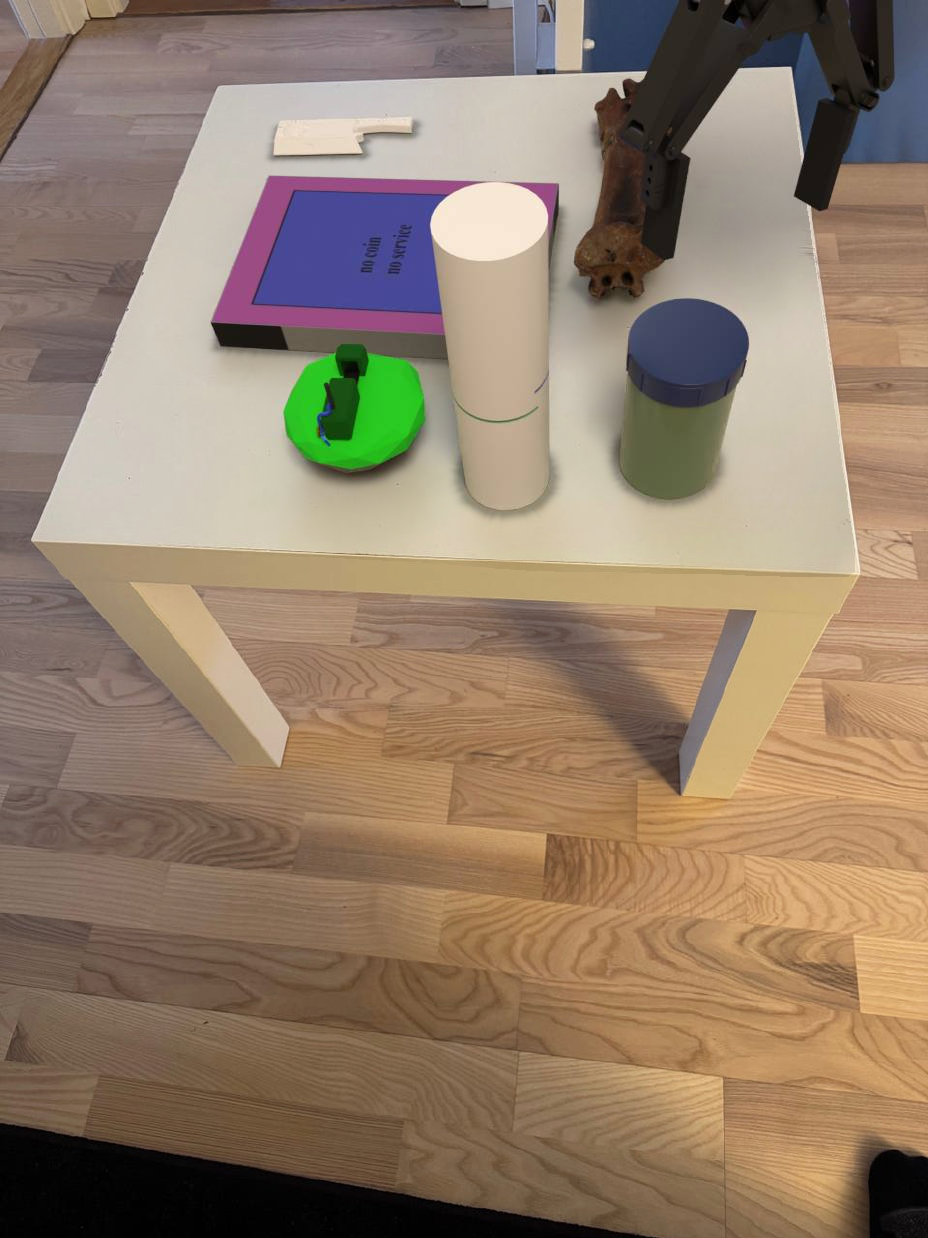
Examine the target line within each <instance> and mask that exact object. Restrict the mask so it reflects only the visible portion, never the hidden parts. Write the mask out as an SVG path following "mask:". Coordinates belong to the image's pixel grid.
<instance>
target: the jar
mask: <svg viewBox="0 0 928 1238" xmlns="http://www.w3.org/2000/svg"><path fill="white" fill-rule="evenodd" d="M737 386H738V385H737ZM737 386H736V387H735V388H734V389H733V390H732V391H731V392H730V393H729V394H728V395H727V396H725V397H723V398H722V399H720V400H718V401H715V402H713V403H710V404H707V405H703V406H698V407H676V406H670V405H666V404H662V403H659V402H657V401H655V400H652V399H651V398H649V397H647V396H646V395H644V394H643V393H642V392H640V391H639V390H638V389H637V388H636V387H635V385H634V384H633V383H632V381H631V379H630V377H629V375H628V373H627V376H626V384H625V395H624V397H625V398H624V406H623V415H622V426H621V436H620V447H619V456H618V457H619V458H618V462H619V468H620V471H621V473H622V475H623V477H624V478H625V480H626V481H627V483H629V485H631V487H633V488H634V489H635V490H637V491H639V492H640V493H642V494H644V495H646V496H650V497H652V498H657V499H663V500H677V499H683V498H688V497H690V496H692V495H695V494H697V493H699V492H700V491H702V490H703V489H704V488H705V487H707V486H708V485H709V483H711V481H712V479H713V478H714V476H715V474H716V471H717V466H718V464H719V459H720V454H721V450H722V448H723V443H724V439H725V434H726V430H727V427H728V422H729V418H730V415H731V411H732V406H733V402H734V398H735V394H736V391H737Z"/></svg>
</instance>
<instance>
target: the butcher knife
mask: <svg viewBox="0 0 928 1238" xmlns="http://www.w3.org/2000/svg"><path fill="white" fill-rule="evenodd" d="M413 126H414V121H413V116H399V117H397V116H396V117H363V118H362V117H361V118H360V117H358V118H322V119H318V118H311V119H310V118H309V119H293V120H288V119H287V120H279V122H278V126H276V128H277V129H276V132H275V135H274V138H273V139H274V141H273V156H307V155H309V156H310V155H311V156H314V155H352V154H358V155H359V154H363V150H362V148H361V145H360V144H359V143H362V142H364V141H365V138H364V134H372V133H401V134H402V133H405V134H412V131H413Z"/></svg>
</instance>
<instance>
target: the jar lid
mask: <svg viewBox="0 0 928 1238" xmlns="http://www.w3.org/2000/svg"><path fill="white" fill-rule="evenodd" d="M749 337H750V336H749V333H748V330H747V329H746V326H745V325H744V323H743V322H742V320H741V319H740V318H739V316H737V315H736V314H735V313H734V312H732V311H731V310H730V309H728V308H726V307H725V306H723V305H721V304H718V303H716V302H714V301H713V302H712V301H711V300H706V299H700V298H694V297H693V298H692V297H686V298H685V297H684V298H683V297H681V298H674V299H668V300H665V301H661V302H658V303H657V304H654V305H652V306H651V307H648V308H647V309H645V310H644V311H643V312H641V314H640V315H639V316H637V318H635V320H634V322H633V323H632V325H631V327H630V329H629V332H628V337H627V347H626V356H625V357H626V358H625V371H626V373H627V374H628V375H629V377H630V379H631V381H632V383H633V384H634V385H635V387H636V388H637V389H638V390H639V391H640V392H642V393H643V394H644V395H646V396H647V397H649V398H651V399H652V400H655V401H657V402H659V403H662V404H666V405H670V406H676V407H698V406H703V405H707V404H710V403H713V402H715V401H718V400H720V399H722V398H723V397H725V396H727V395H728V394H729V393H730V392H731V391H732V390H733V389H734V388H735V387H736V386H738V384H739V383H740V381H741V379H742V378H743V377H744V373H745V369H746V366H747V365H746V364H747V361H748V360H747V357H748V354H749V349H750V339H749ZM736 388H737V387H736Z"/></svg>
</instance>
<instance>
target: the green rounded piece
mask: <svg viewBox="0 0 928 1238" xmlns="http://www.w3.org/2000/svg"><path fill="white" fill-rule="evenodd" d="M282 414H283V420H284V426H285V433H286V436H287V438H288V439H289V440H290V442H291V443H292V444H293V445H294V446H295V447H296V449H297V450H298V451H299V452H300V453H301V455H302V456H303V457H304V458H305V459H306V460H307V461H311V462H313V463H317V464H320V465H323V466H326V467H328V468H331V469H333V470H337V471H339V472H342V473H346V474H347V473H355V472H363V471H371V470H373V469H374V468H376V467H378V466H380V465H381V464H384V463H385V462H387V461H389V460H391V459H393V458H395V457H396V456H399V455H400V454H402V453H404V452H406V451H408V449H409V447H410V446H411V445H412V442H413V441H414V439H415V438H416V437H417V435H418V433H419V432H420V430H421V428H422V427H423V425H424V424H425V422H426V406H425V396H424V391H423V387H422V383H421V379H420V374H419V371H418V369H416V368H415V367H414V365H412V364H411V363H410V362H409V361H408V360H407V359H403V358H398V357H393V356H384V355H376V354H369V353H367V351H366V348H365V347H364V346H363V344H341V345H340V346H339V347H338V348H337V350H336V353H331V354H329V355H327V356H325V357H322V358H320V359H317V360H315V361H313V362H310V363H308V364H306V365H305V367H304V369H303V371H302V372H301V374H300V376H299V377H298V379H297V380H296V382H295V384H294V386H293V387H292V389H291V391H290V394H289V397H288V398H287V401H286V403H285V405H284V408H283V410H282Z"/></svg>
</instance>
